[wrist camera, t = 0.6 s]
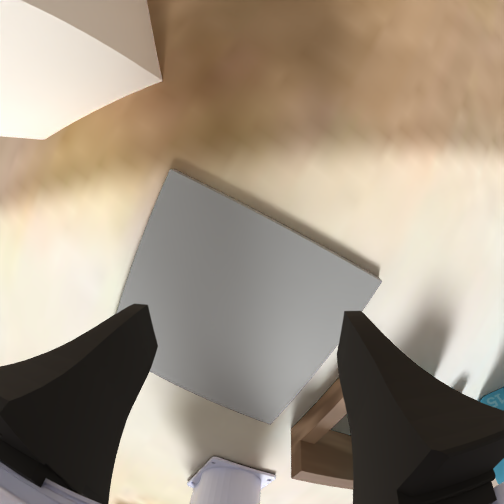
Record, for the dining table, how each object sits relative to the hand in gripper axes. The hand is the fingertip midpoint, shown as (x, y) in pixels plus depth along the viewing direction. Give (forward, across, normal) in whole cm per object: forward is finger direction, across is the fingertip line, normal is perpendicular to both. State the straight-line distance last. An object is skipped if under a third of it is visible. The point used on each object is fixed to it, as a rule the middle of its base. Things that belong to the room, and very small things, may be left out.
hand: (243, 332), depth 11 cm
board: (+10, +2, +6) cm, 12 cm away
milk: (+12, +14, -15) cm, 24 cm away
